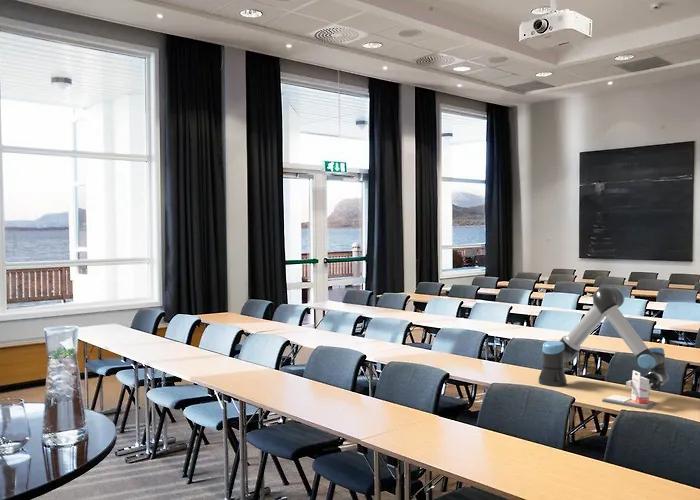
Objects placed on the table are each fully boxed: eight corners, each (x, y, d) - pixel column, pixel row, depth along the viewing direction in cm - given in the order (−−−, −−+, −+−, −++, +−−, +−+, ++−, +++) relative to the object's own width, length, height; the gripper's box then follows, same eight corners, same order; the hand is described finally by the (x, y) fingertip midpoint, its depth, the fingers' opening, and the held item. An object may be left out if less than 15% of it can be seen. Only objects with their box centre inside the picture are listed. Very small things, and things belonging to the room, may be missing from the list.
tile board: (602, 401, 309) (602, 398, 309) (613, 397, 320) (613, 393, 320) (646, 409, 295) (646, 406, 295) (656, 404, 306) (656, 401, 306)
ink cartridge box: (649, 403, 300) (650, 373, 300) (639, 403, 300) (639, 373, 300) (640, 399, 309) (641, 369, 309) (630, 399, 309) (631, 369, 309)
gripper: (675, 391, 310) (660, 398, 294) (630, 384, 325) (614, 390, 308) (675, 376, 310) (661, 382, 294) (630, 369, 325) (614, 375, 308)
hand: (637, 386), depth 301 cm, fingers closed on ink cartridge box, 9 cm apart
